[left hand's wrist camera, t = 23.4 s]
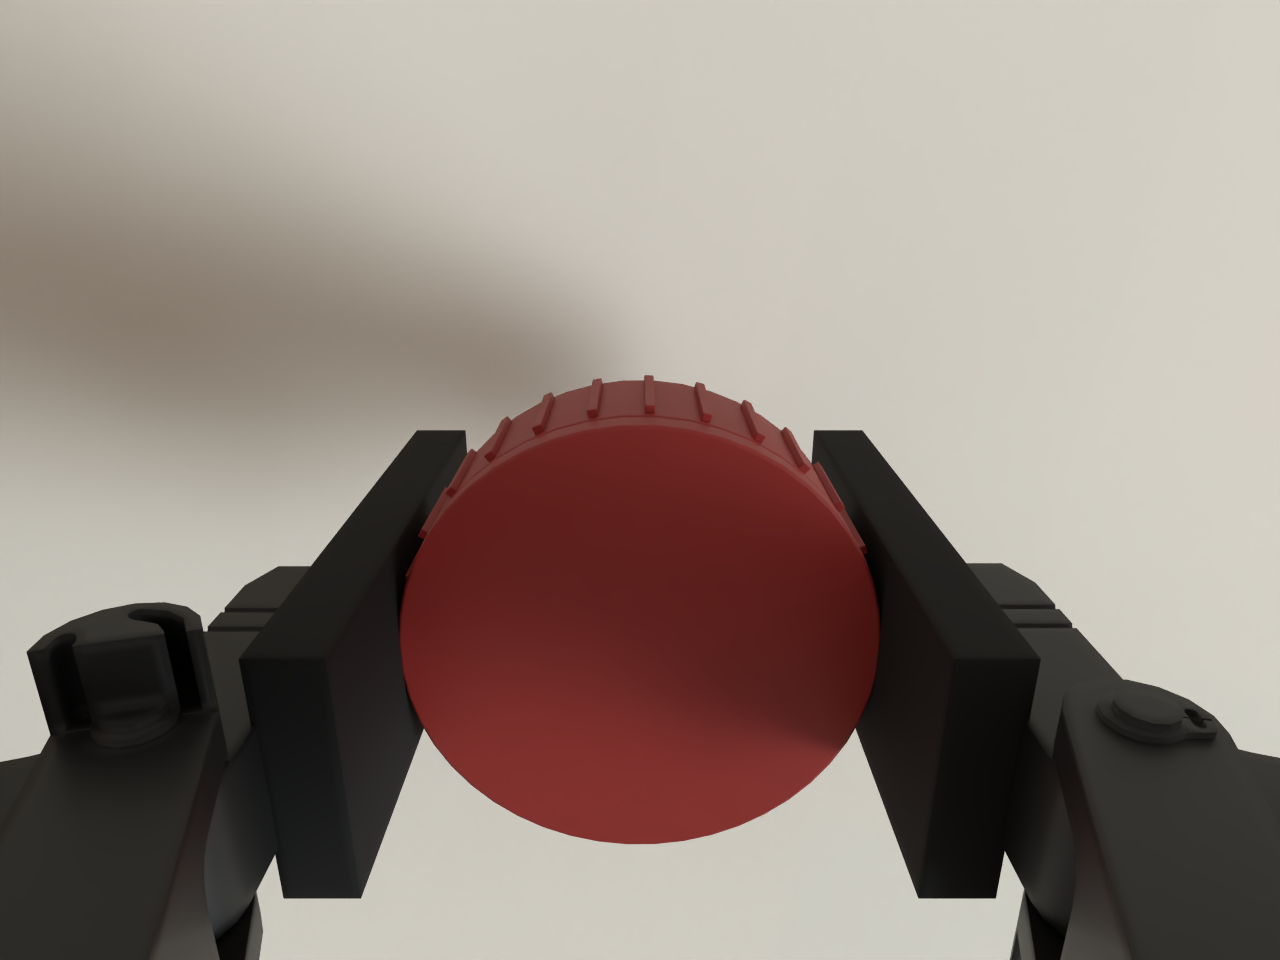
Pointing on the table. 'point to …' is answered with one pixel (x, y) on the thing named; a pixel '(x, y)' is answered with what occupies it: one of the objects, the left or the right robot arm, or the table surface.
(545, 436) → the lid
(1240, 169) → the table surface
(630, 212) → the table surface
